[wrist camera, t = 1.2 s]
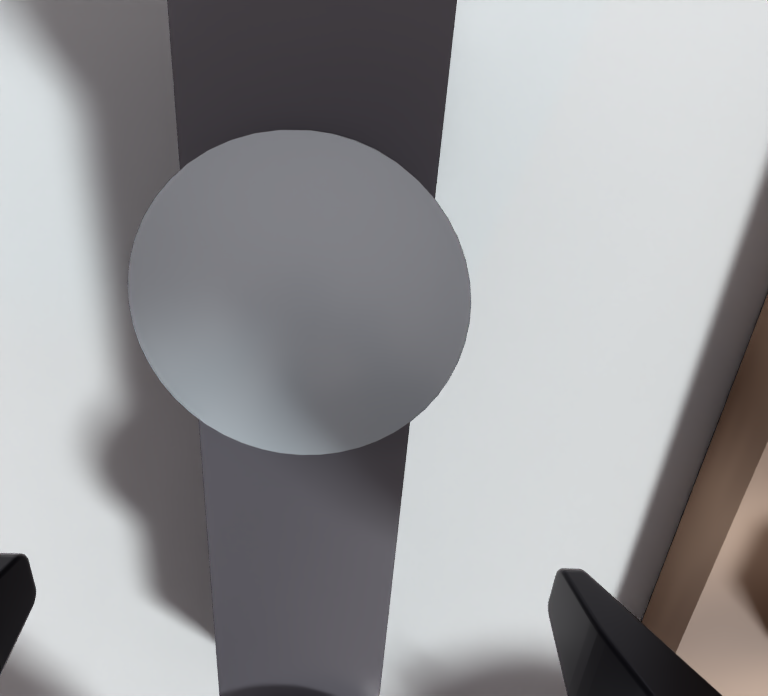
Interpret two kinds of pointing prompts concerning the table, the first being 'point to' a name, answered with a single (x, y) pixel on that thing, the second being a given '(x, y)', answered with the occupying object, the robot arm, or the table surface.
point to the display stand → (724, 545)
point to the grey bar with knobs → (303, 313)
